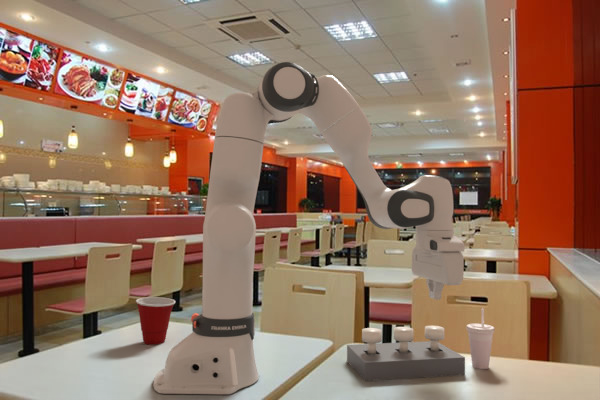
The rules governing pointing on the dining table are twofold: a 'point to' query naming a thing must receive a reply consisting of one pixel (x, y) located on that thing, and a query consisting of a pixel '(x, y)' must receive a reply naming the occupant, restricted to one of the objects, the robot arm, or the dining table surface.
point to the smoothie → (480, 343)
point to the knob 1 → (371, 338)
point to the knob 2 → (434, 336)
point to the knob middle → (403, 337)
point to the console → (404, 361)
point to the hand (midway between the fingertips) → (435, 298)
